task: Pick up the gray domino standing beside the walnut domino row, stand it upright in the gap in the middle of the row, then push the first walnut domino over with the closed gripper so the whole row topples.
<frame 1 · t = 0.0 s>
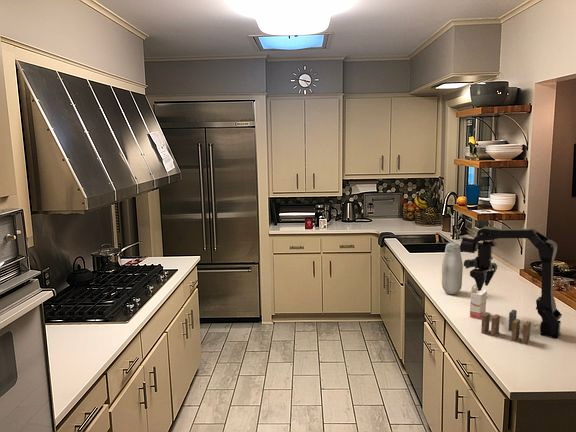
hand: (482, 288, 210), 15 cm above the worktop, tool pointing down, fingers open, 9 cm apart
gray domino: (512, 329, 200), on the worktop
domino 2: (515, 339, 190), on the worktop
domino 4: (494, 334, 196), on the worktop
ink cartridge box: (477, 315, 217), on the worktop
gray bottle: (451, 293, 248), on the worktop
domino 1: (525, 341, 188), on the worktop
domino 5: (485, 331, 198), on the worktop
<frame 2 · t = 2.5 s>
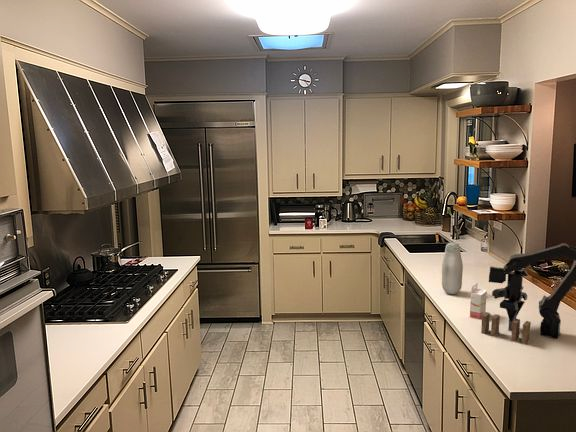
hand: (512, 319, 200), 5 cm above the worktop, tool pointing down, fingers closed on gray domino, 5 cm apart
gray domino: (512, 329, 200), on the worktop, touching gripper
everything else where it was.
when the fingers open (5 cm above the worktop, at t = 7.5 s): gray domino stays where it is, on the worktop.
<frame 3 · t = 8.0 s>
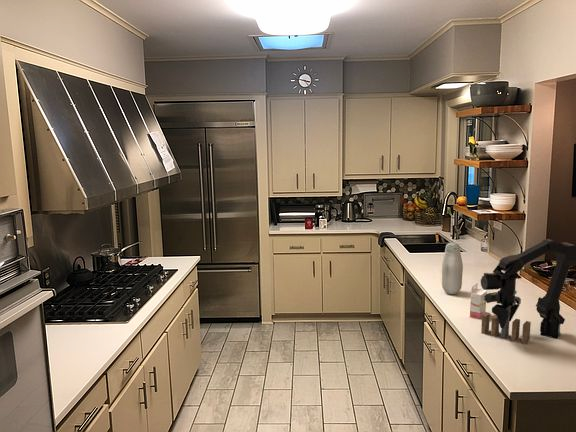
hand: (505, 324, 192), 5 cm above the worktop, tool pointing down, fingers open, 9 cm apart
gray domino: (504, 336, 193), on the worktop
everything else where it was.
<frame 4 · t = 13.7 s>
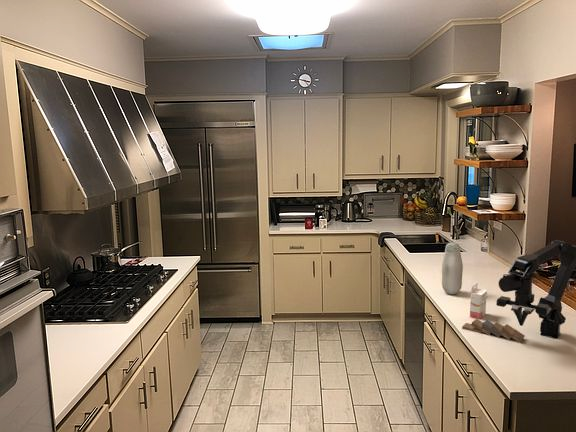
hand: (521, 325, 188), 6 cm above the worktop, tool pointing down, fingers closed
gray domino: (501, 334, 194), point 1 cm above the worktop, tilted 66°, touching domino 2, domino 4
domino 2: (512, 336, 191), point 1 cm above the worktop, tilted 66°, touching gray domino
domino 4: (491, 331, 196), point 1 cm above the worktop, tilted 73°, touching gray domino
domino 1: (522, 339, 188), point 1 cm above the worktop, tilted 66°
domino 5: (482, 330, 199), on the worktop, tilted 90°
everything else where it was.
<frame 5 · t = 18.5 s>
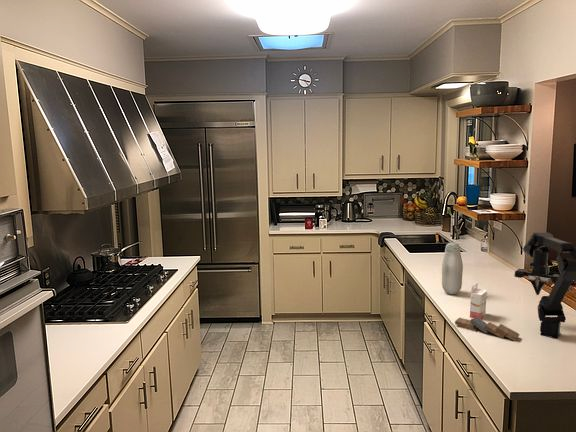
hand: (537, 294, 205), 13 cm above the worktop, tool pointing down, fingers closed
gray domino: (489, 330, 197), point 1 cm above the worktop, tilted 70°, touching domino 2, domino 4
domino 2: (505, 335, 193), point 1 cm above the worktop, tilted 73°, touching gray domino, domino 1
domino 4: (475, 325, 201), point 2 cm above the worktop, tilted 90°, touching gray domino, domino 5
domino 1: (517, 337, 190), point 1 cm above the worktop, tilted 71°, touching domino 2
domino 5: (478, 329, 200), on the worktop, tilted 90°, touching domino 4
everything else where it was.
at the end: gray domino inside the target area (0.7 cm from its centre), point 0.9 cm above the worktop; gray domino tilted 70°; domino 5 tilted 90° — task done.
